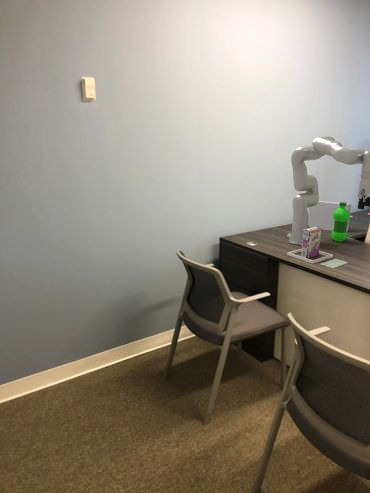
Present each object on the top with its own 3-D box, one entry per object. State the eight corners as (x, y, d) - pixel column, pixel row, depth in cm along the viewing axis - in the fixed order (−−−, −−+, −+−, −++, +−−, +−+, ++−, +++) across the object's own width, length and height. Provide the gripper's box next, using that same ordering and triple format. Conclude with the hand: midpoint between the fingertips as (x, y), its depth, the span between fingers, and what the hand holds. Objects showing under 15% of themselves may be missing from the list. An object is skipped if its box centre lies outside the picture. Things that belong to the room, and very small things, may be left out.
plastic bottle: (339, 237, 255) (343, 200, 247) (350, 242, 245) (355, 203, 237) (326, 239, 252) (331, 201, 244) (337, 243, 242) (342, 204, 235)
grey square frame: (287, 255, 221) (287, 252, 221) (307, 249, 231) (307, 247, 230) (312, 263, 207) (313, 261, 207) (332, 257, 217) (333, 254, 216)
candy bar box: (307, 259, 214) (309, 231, 209) (300, 257, 218) (302, 229, 213) (319, 255, 220) (322, 228, 215) (312, 253, 224) (314, 226, 219)
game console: (346, 232, 267) (350, 204, 261) (307, 227, 280) (309, 201, 274) (348, 230, 271) (351, 203, 265) (309, 226, 285) (311, 199, 279)
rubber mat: (319, 264, 206) (319, 263, 206) (335, 259, 213) (335, 258, 213) (332, 268, 200) (332, 267, 199) (348, 263, 207) (348, 262, 207)
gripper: (367, 173, 205) (362, 204, 211) (355, 176, 194) (350, 209, 199) (381, 174, 201) (377, 206, 206) (370, 177, 189) (365, 211, 194)
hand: (364, 207), depth 202 cm, fingers open, 9 cm apart
